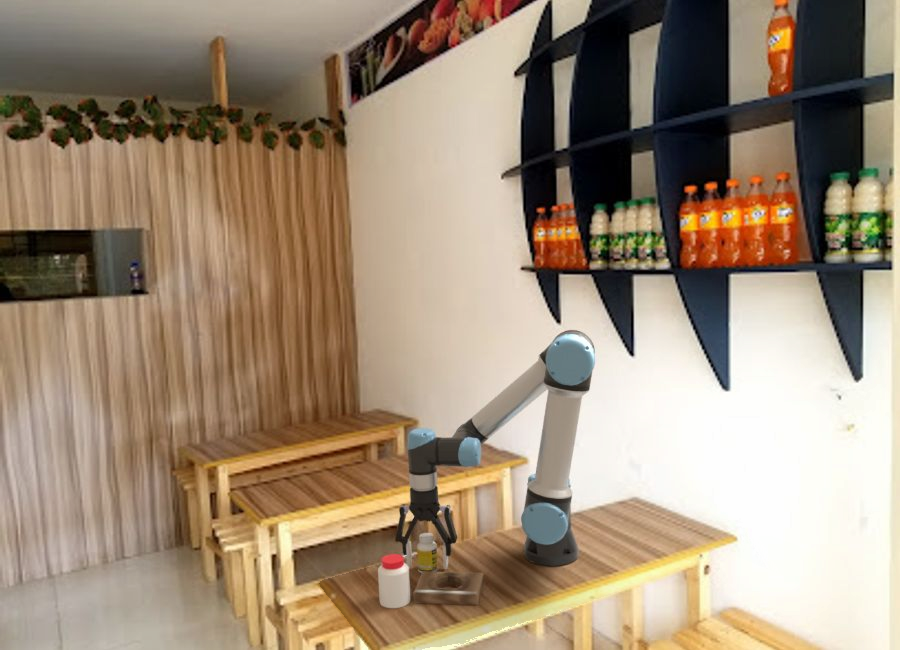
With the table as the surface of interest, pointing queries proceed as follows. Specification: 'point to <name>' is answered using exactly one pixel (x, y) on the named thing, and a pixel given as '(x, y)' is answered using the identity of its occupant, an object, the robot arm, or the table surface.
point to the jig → (464, 594)
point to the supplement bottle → (427, 553)
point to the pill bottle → (394, 582)
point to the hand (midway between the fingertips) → (427, 566)
